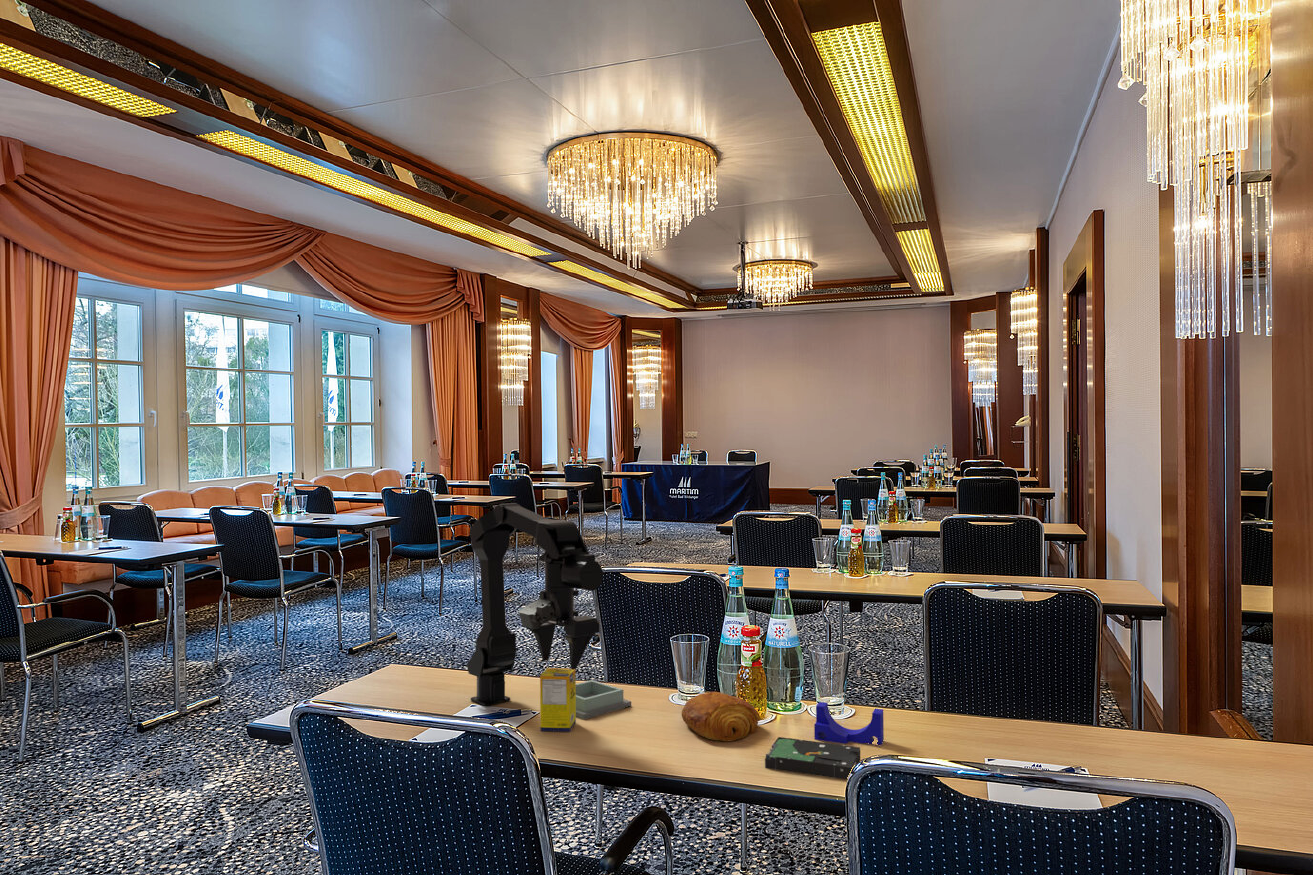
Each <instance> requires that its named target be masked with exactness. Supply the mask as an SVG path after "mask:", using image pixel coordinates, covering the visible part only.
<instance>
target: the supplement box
mask: <svg viewBox="0 0 1313 875" xmlns="http://www.w3.org/2000/svg"><path fill="white" fill-rule="evenodd" d="M539 679H540V680H539V685H540V686H539V687H540V688H539V692H540V694H539V696H540V697H539V698H540V699H539V700H540V701H539V703H540V704H539V706H540V707H539V708H540V710H539V711H540V713H539V714H540V731H541V732H568V733H570V732H571V731H572V730H573V727H574V725H575V724H576V723H577V717H576V684H577V683H576V681H577V680H576V669H571V668H566V667H565V668H561V667H560V668H559V667H557V668H555V667H554V668H553V667H552V668H551V667H547V668H546V669H545V670H544V671H543V672H542V673H541V674H540V677H539Z"/></svg>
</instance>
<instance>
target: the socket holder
mask: <svg viewBox="0 0 1313 875" xmlns="http://www.w3.org/2000/svg"><path fill="white" fill-rule="evenodd" d="M628 706H630V707H632V701H631V700H628V699H625V698H624V689H622V688H620V687H616V686H612V685H610V684H607V683H606V684H605V683H603V682H601V681H597V680H592V679H591V680H587V681H583V682H579V683H576V718H578V719H581V720H588V719H590V718H594V717H598V716H602V715H605V714H608V713H611V712H612V713H613V712H615V711H619V710H623V709H626V708H625V707H627V708H629V707H628ZM622 708H623V709H622Z"/></svg>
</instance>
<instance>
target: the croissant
mask: <svg viewBox="0 0 1313 875" xmlns="http://www.w3.org/2000/svg"><path fill="white" fill-rule="evenodd" d="M760 716H761V715H760V713H759V711H758V710H757V709H756V708H755V707H754V706H753V705H752V703H750V702H747V701H746V700H744V699H742V698H740V697H737V696H733V695H730V694H727V693H723V692H718V691H709V692H705V693H700V694H698V695H696V696H695V697H691V698H690V699H689V700H687V701H686V702H685V703H684V706H683V707H682V709H681V718H682V720H683V722H684V723H685V725H687V726H688V728H690V729H691V730H692V731H694V732H695V733H697V735H699V736H702V737H703V738H705V739H708V740H713V741H717V742H718V741H723V742H733V741H735V740H739V739H744V738H745V737H746V736H748V735H752V734H754V733H756V731H757V730H758V725H759V721H760V720H761V717H760Z"/></svg>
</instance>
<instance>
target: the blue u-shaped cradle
mask: <svg viewBox="0 0 1313 875" xmlns="http://www.w3.org/2000/svg"><path fill="white" fill-rule="evenodd" d="M871 714H872V715H871V720H870V723H868V724H867V725H866V726H864V727H862V728H858V729H850V728H846V727H844V726H842V725H841V724H839V723H838V722H837V721H836V720H835V719H834V718H833V716H832V715H831V712H830V709H829V705H828V702H824V701H819V702H818V703H817V705H816V706H815V716H816V717H815V723H814V725H813V726H814V734H813V735H814V738H813V739H814V740H815V741H823V742H828V743H829V742H830V743H835V744H842V745H847V744H848V743H849V742H850V743H856V742H857V743H856V744H863V743H869V744H868V745H870V744H872V742H873V741H874V739H876V740H878V742H877V744H878V745H881V744H882V745H883V743H884V741H883V740H884V737H885V736H884V735H885V734H884V732H885V731H884V730H885V729H884V709H881V708H875V709H874V710H873V711H872V713H871ZM882 742H883V743H882ZM882 745H881V746H882Z"/></svg>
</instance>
